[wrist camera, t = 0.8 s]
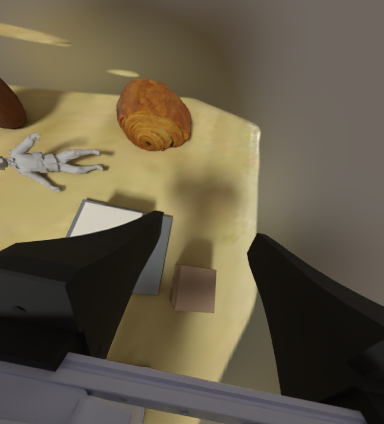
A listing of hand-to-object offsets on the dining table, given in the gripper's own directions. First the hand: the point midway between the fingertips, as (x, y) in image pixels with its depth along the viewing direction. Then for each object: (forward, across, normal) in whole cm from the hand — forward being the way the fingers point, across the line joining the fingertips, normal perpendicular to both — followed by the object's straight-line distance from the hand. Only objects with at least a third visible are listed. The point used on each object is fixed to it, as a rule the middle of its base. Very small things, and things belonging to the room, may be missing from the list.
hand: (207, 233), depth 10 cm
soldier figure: (+13, +23, +2) cm, 27 cm away
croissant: (+26, +13, -7) cm, 30 cm away
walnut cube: (+6, 0, +14) cm, 15 cm away
